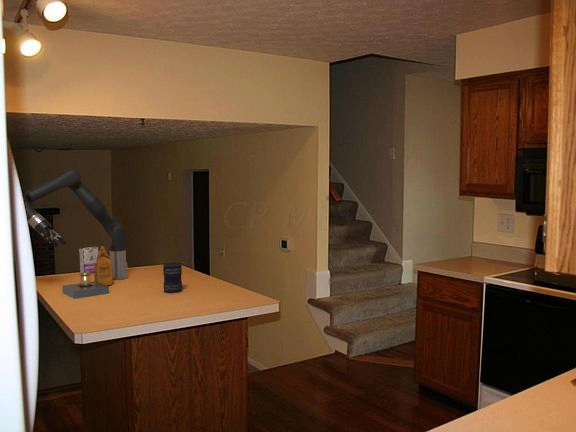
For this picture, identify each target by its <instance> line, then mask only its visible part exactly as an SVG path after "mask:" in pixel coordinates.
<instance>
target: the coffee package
mask: <svg viewBox="0 0 576 432" xmlns="http://www.w3.org/2000/svg"><path fill="white" fill-rule="evenodd" d="M107 250H108V249H107V248H105V246H103V245H101V246H100V248H99V254H98V256H97V259H96V265H95V273H93V274H94V275H93V277H94V278H93V279H94V281H97V282H99V283H102V284H105V285H107V286H111V285H113V268H112V260H111V259H110V255H108V253H107Z"/></svg>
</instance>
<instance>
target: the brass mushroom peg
mask: <svg viewBox="0 0 576 432" xmlns="http://www.w3.org/2000/svg"><path fill="white" fill-rule="evenodd" d="M91 274H92V273H91V272H81V273H80V272H79V277H80V279H79V281H80V282H79V283H80V284H81V288H84V287H90V282H91Z"/></svg>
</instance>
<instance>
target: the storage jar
mask: <svg viewBox="0 0 576 432" xmlns="http://www.w3.org/2000/svg"><path fill="white" fill-rule="evenodd" d="M182 267H183V265H182V263H181V262H168V263H167V262H165V263H164V264H163V269H162V270H163V271H162V275H163V293H164V294H179V293H182V292H183V288H182V287H183V281H182V274H183V273H182V272H183V268H182Z"/></svg>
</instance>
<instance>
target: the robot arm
mask: <svg viewBox="0 0 576 432" xmlns="http://www.w3.org/2000/svg"><path fill="white" fill-rule="evenodd" d="M81 179H82V174H81V172H80V171H79V170H77V169H76V168H66V169H64V170H62V171H61V173H60V176H57V177H56V178H54V179H52V180H49V181H47V182H44V183H41V184H38V185H36V186H34V187H32V188H30V189H28V190H27V191H26V192H25V193H24V194H23V195H22V196H24V200H25V206H26V211H27V217H28V222H27V223H28V224H29V226H31V227H32V229H33V230H35V231H36V232H37V233H38V235H39V236H40V237H41V238H42V239H43V240H44V241H45V242H46V243H49V244H51V245H52V246H54V247H55V248H58V246H59V243H58V242H60V244H61V245H62V246H65V245H66V243H67V241H66V240H65V239H64V238H63V234H62V233H61V232H60V231H59V230H57V229H56V228H53V229H52V224H51V223H50V222H49V221H48V220H46V218H45V217H43V215H41V214H40V213H39V212H38V211H37V210H36V209H34V207H32V206H31V205H32V204H33V203H34V202H37V201H39V200H41V199H43V198H45V197H46V196H49V195H51V194H53V193H55V192H56V191H59V190H61V189H64V188H69V189H70V190H71V191H72V192H73V193H74V195H75V196H76V197H77V198H78V200H79V202H81V204H82V205H83V206H84V207H85V208H86V210H87V211H88V213H90V214H91V216H92V217H94V219H96V221H97V222H99V224H100V225H101V226H102V228H103V229H104V230H105V232H106V234H107V235H108V236H109V237H110V238H111V244H110V246H109V257H110V259H111V260H112V268H113V280H114V281H116V280H117V281H118V280H125V279H128V278H129V276H128V274H129V273H128V262H127V255H126V254H127V253H126V252H127V250H126V249H127V244H128V237H127V236H128V234H127V232H128V231H127V228H126V227H125V226H124V225H123V224H121V223H120V224H119V223H118V222H116V220H115V219H114V218H112V216H111V215H110V214H109V211H108V209H107V207H106V205H105V204H104V202H103V200H101V199H100V197H98V195H97V194H95V192H93V191H92V190H90V188H88V187H87V186H86V185H85V184H84V183H83V181H82V180H81ZM57 241H58V242H57Z"/></svg>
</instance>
